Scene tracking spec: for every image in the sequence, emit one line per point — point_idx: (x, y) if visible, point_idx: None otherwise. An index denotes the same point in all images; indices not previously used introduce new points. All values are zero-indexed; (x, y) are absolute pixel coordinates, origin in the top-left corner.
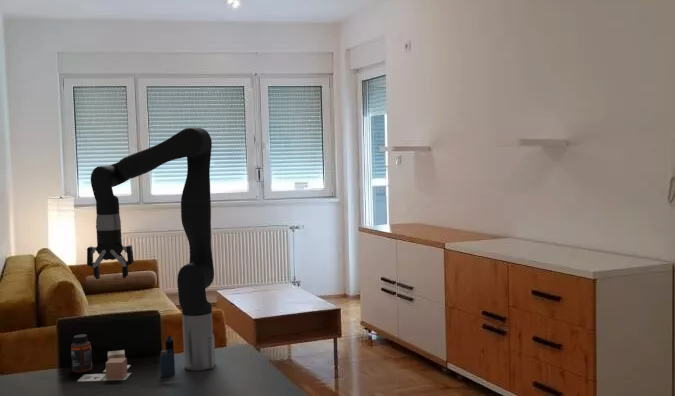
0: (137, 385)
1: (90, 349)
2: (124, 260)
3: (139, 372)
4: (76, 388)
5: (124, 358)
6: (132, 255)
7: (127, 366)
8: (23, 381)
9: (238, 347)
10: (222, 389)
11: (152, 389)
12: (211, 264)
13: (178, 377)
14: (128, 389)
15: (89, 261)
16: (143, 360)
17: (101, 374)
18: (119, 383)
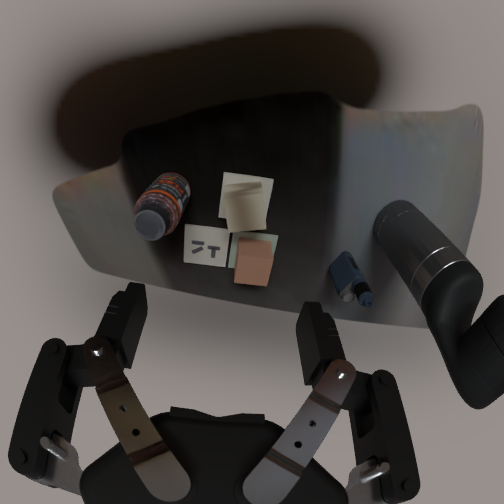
0: (289, 293)
1: (181, 212)
2: (334, 401)
3: (292, 227)
4: (192, 286)
5: (269, 262)
6: (398, 428)
7: (266, 190)
8: (90, 232)
9: (472, 123)
10: (389, 322)
11: None
12: None
13: None
14: (276, 306)
15: (71, 397)
16: (299, 139)
17: (219, 233)
18: None
